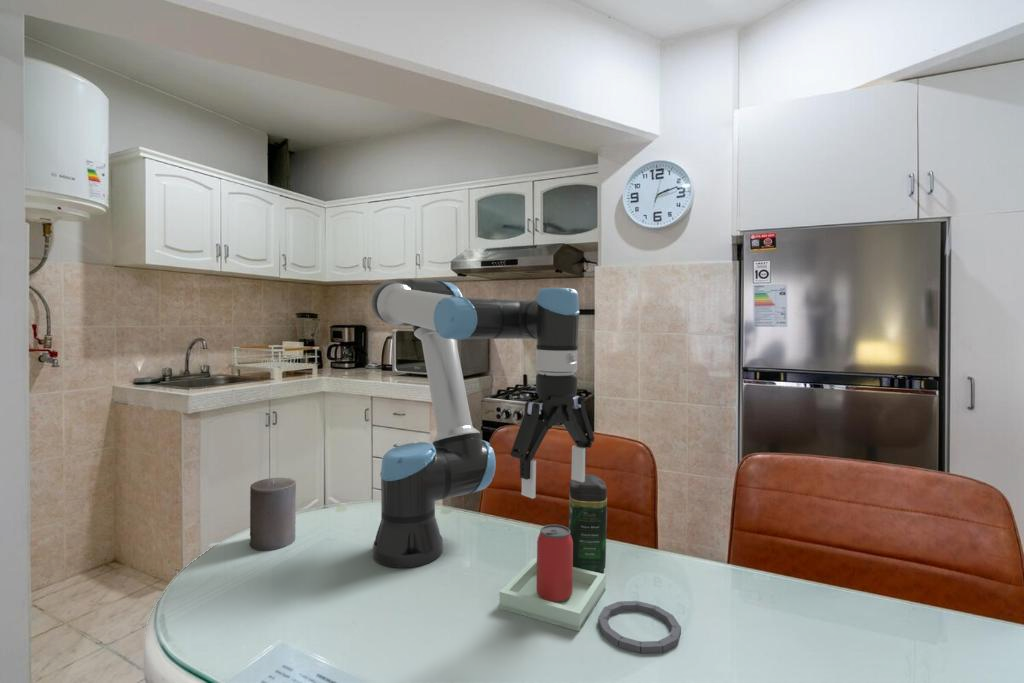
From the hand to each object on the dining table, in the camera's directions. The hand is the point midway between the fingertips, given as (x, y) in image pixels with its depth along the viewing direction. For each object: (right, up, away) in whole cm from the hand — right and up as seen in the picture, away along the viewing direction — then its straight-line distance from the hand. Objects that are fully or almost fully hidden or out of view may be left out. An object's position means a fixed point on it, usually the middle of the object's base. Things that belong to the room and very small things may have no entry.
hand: (554, 488), depth 94 cm
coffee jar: (+8, -20, +14) cm, 26 cm away
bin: (0, -21, 0) cm, 21 cm away
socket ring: (+13, -21, -9) cm, 26 cm away
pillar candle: (-63, -20, +24) cm, 70 cm away
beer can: (0, -20, 0) cm, 20 cm away
